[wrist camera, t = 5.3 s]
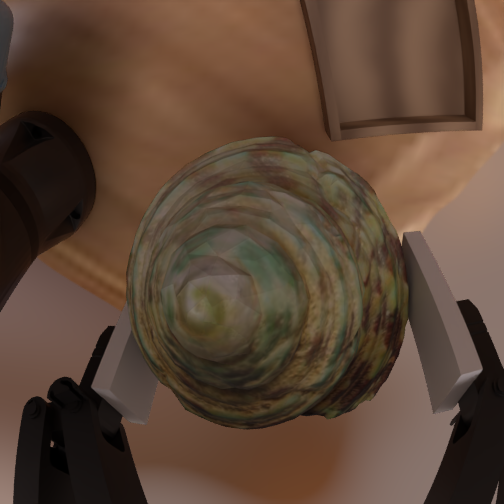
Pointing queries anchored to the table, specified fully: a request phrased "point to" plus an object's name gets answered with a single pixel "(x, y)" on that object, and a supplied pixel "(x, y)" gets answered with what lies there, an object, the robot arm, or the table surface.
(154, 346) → the seashell
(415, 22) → the holder
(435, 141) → the table surface
